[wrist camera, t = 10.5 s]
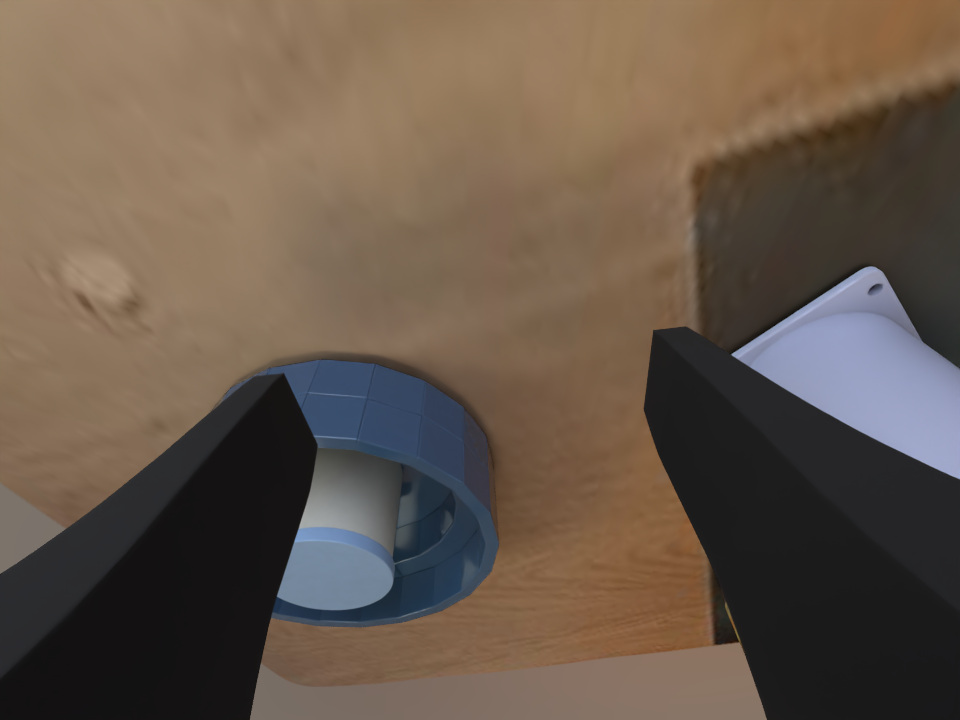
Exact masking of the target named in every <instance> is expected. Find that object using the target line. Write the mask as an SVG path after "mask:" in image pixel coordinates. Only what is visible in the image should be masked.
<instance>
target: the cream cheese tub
mask: <svg viewBox="0 0 960 720" xmlns="http://www.w3.org/2000/svg"><path fill="white" fill-rule="evenodd" d="M402 478H403V471H402V467H401V465H400V463H398V462H395V461H391V460H387V459H384V458H380V457H377V456H373V455H370V454H366V453H363V452H359V451H356V450H343V449H328V448H317V454H316V461H315V467H314V473H313V479H312V484H311V489H310V493H309V497H308V500H307V503H306V507H305V510H304V513H303V516H302V519H301V523H300V526H299V529H298V532H297V535H296V538H295V542H294V545H293V548H292V551H291V554H290V557H289V560H288V563H287V566H286V570H285V573H284V576H283V579H282V582H281V585H280V588H279V591H278V595H277V597H279V598H281V599H283V600H285V601H287V602H290V603H293V604H296V605H299V606H303V607H307V608H313V609H321V610H347V609H354V608H359V607H363V606H366V605H369V604H372V603H374V602H376V601H378V600H380V599H381V598H383V597H384V596H385V595H386V594H387V593H388V592H389V591H390V589H391V587H392V585H393V580H394V572H395V564H394V561H393V551H394V543H395V535H396V527H397V519H398V511H399V502H400V494H401V486H402Z"/></svg>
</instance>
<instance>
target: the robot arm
mask: <svg viewBox="0 0 960 720" xmlns="http://www.w3.org/2000/svg"><path fill="white" fill-rule="evenodd" d="M874 285H875V286H874ZM872 286H874V287H873V288H872V289H870V288H871V287H872ZM869 289H870V290H869ZM644 412H645V415H646V418H647V422H648V425H649V428H650V431H651V434H652V437H653V440H654V443H655V446H656V449H657V452H658V455H659V457H660V459H661V461H662V463H663V466H664V468H665V470H666V472H667V474H668V476H669V478H670V480H671V482H672V484H673V487H674V489H675V491H676V493H677V495H678V497H679V499H680V501H681V503H682V505H683V507H684V509H685V511H686V514H687V516H688V518H689V520H690V522H691V524H692V526H693V528H694V530H695V532H696V534H697V536H698V538H699V540H700V542H701V545H702V547H703V549H704V551H705V553H706V555H707V557H708V559H709V561H710V564H711V566H712V568H713V571H714V573H715V575H716V577H717V580H718V582H719V584H720V587H721V590H722V592H723V595H724V598H725V601H726V603H727V606H728V609H729V611H730V614H731V617H732V620H733V622H734V625H735V628H736V630H737V633H738V636H739V639H740V641H741V644H742V647H743V650H744V653H745V656H746V659H747V662H748V664H749V667H750V670H751V673H752V676H753V679H754V682H755V684H756V687H757V690H758V693H759V696H760V699H761V702H762V705H763V708H764V711H765V715H766V718H767V720H960V369H959V368H958V367H957V366H955V365H954V364H952V363H951V362H950V361H948V360H947V359H945V358H944V357H943V356H941V355H940V354H939V353H937V352H936V351H934V350H933V349H932V348H930V347H929V346H927V345H926V344H925V343H923V342H922V340H921V338H920V337H919V335H918V333H917V331H916V330H915V328H914V326H913V324H912V323H911V321H910V319H909V317H908V315H907V314H906V312H905V310H904V308H903V307H902V305H901V303H900V301H899V300H898V298H897V296H896V294H895V292H894V291H893V289H892V287H891V285H890V284H889V282H888V280H887V278H886V277H885V275H884V273H883V272H882V271H881V270H879V269H877V268H876V267H872V266H870V267H865V268H863V269H861V270H859V271H858V272H856V273H855V274H853V275H852V276H850V277H849V278H847V279H846V280H844V281H843V282H841V283H840V284H838V285H837V286H835V287H833V288H832V289H830V290H829V291H827V292H826V293H824V294H823V295H821V296H820V297H818V298H817V299H815V300H814V301H812V302H811V303H809V304H807V305H806V306H804V307H803V308H801V309H800V310H798V311H797V312H795V313H794V314H792V315H791V316H789V317H788V318H786V319H785V320H783V321H781V322H780V323H778V324H777V325H775V326H774V327H772V328H771V329H769V330H768V331H766V332H765V333H763V334H762V335H760V336H759V337H757V338H755V339H754V340H752V341H751V342H749V343H748V344H746V345H745V346H743V347H742V348H740V349H739V350H737V351H736V352H734V353H733V354H729V353H728V352H726V351H725V350H723V349H721V348H720V347H718V346H717V345H715V344H714V343H712V342H711V341H709V340H708V339H706V338H704V337H703V336H701V335H700V334H698V333H696V332H695V331H693V330H691V329H690V328H688V327H678V328H669V329H660V330H653V338H652V346H651V354H650V362H649V371H648V379H647V387H646V395H645V403H644ZM317 448H318V444H317V442H316V440H315V438H314V435H313V433H312V431H311V429H310V427H309V425H308V423H307V421H306V418H305V416H304V414H303V412H302V410H301V408H300V406H299V404H298V401H297V399H296V397H295V395H294V393H293V391H292V389H291V387H290V385H289V382H288V380H287V378H286V376H285V374H284V373H280V374H271V375H263V376H254V377H253V378H251V379H250V380H249V381H247V382H246V383H245V384H243V385H242V386H241V387H240V388H238V389H237V390H236V391H235V392H234V393H232V394H231V395H230V396H229V397H228V398H226V399H225V400H224V401H223V402H222V403H221V404H219V405H218V406H217V407H216V408H215V409H214V410H212V411H211V412H210V413H209V414H208V415H207V416H206V417H204V418H203V419H202V420H201V421H200V422H199V423H197V424H196V425H195V426H194V427H193V428H192V429H190V430H189V431H188V432H187V433H186V434H185V435H184V436H182V437H181V438H180V439H179V440H178V441H177V442H175V443H174V444H173V445H172V446H171V447H170V448H168V449H167V450H166V451H165V452H164V453H163V454H161V455H160V456H159V457H158V458H157V459H155V460H154V461H153V462H152V463H150V464H149V465H148V466H147V467H145V468H144V469H143V470H142V471H140V472H139V473H138V474H137V475H135V476H134V477H133V478H132V479H131V480H129V481H128V482H127V483H126V484H124V485H123V486H122V487H121V488H119V489H118V490H117V491H116V492H114V493H113V494H112V495H111V496H109V497H108V498H107V499H106V500H104V501H103V502H102V503H101V504H99V505H98V506H97V507H95V508H94V509H93V510H91V511H90V512H89V513H87V514H86V515H85V516H83V517H82V518H81V519H79V520H78V521H77V522H75V523H74V524H72V525H71V526H70V527H68V528H67V529H65V530H64V531H63V532H62V533H60V534H58V535H57V536H56V537H54V538H53V539H52V540H50V541H48V542H47V543H46V544H44V545H43V546H41V547H40V548H39V549H37V550H36V551H34V552H33V553H31V554H30V555H28V556H27V557H26V558H24V559H23V560H21V561H20V562H18V563H17V564H15V565H14V566H12V567H10V568H9V569H7V570H6V571H4V572H3V573H1V574H0V720H250V715H251V710H252V705H253V699H254V693H255V688H256V683H257V678H258V673H259V669H260V664H261V659H262V655H263V650H264V645H265V641H266V636H267V631H268V627H269V623H270V619H271V616H272V612H273V608H274V605H275V601H276V598H277V595H278V591H279V588H280V585H281V582H282V579H283V576H284V573H285V570H286V566H287V563H288V560H289V557H290V554H291V551H292V548H293V545H294V542H295V538H296V535H297V532H298V529H299V526H300V523H301V519H302V516H303V513H304V510H305V507H306V503H307V500H308V497H309V493H310V489H311V484H312V479H313V473H314V467H315V461H316V454H317Z"/></svg>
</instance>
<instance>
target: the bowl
mask: <svg viewBox="0 0 960 720" xmlns="http://www.w3.org/2000/svg"><path fill="white" fill-rule="evenodd" d="M280 373H284V374H285V376H286V378H287V380H288V382H289V385H290V387H291V389H292V391H293V393H294V395H295V397H296V399H297V401H298V404H299V406H300V408H301V410H302V412H303V414H304V416H305V418H306V421H307V423H308V425H309V427H310V429H311V431H312V433H313V435H314V438H315V440H316V442H317V444H318V448H328V449H343V450H356V451H359V452H363V453H366V454H370V455H373V456H377V457H380V458H384V459H387V460H391V461H395V462H398V463H400V465H401V467H402V471H403V478H402V486H401V494H400V502H399V511H398V519H397V527H396V535H395V543H394V551H393V561H394V564H395V572H394V580H393V585H392V587H391V589H390V591H389V592H388V593H387V594H386V595H385V596H384V597H383V598H381V599H380V600H378V601H376V602H374V603H372V604H369V605H366V606H363V607H359V608H354V609H347V610H321V609H313V608H307V607H303V606H299V605H296V604H293V603H290V602H287V601H285V600H283V599H281V598H279V597H277V598H276V601H275V605H274V608H273V612H272V616H271V618H275V619H279V620H285V621H291V622H296V623H302V624H308V625H314V626H331V627H369V626H378V625H386V624H394V623H403V622H407V621H410V620H413V619H417V618H420V617H423V616H427V615H430V614H433V613H437V612H440V611H442V610H444V609H446V608H448V607H450V606H451V605H453V604H455V603H457V602H458V601H460V600H462V599H464V598H465V597H467V596H469V595H470V594H472V592H473V591H474V590H475V589H476V588H477V587H478V586H479V585H480V584H481V582H482V581H483V580H484V579H485V578H486V577H487V576H488V575H489V574H490V573H491V571H492V568H493V565H494V561H495V558H496V554H497V550H498V547H499V534H498V520H497V506H496V491H495V477H494V466H493V461H492V457H491V453H490V449H489V445H488V441H487V437H486V436H485V434H484V433H483V432H482V431H481V429H480V428H479V427H478V425H477V424H476V423H475V421H474V420H473V419H472V417H471V416H470V415H469V414H468V412H467V411H466V410H465V408H464V407H463V406H462V405H460V404H459V403H457V402H456V401H454V400H453V399H451V398H450V397H448V396H447V395H445V394H444V393H442V392H441V391H439V390H438V389H437V388H435V387H434V386H432V385H431V384H429V383H428V382H426V381H424V380H422V379H419V378H416V377H413V376H410V375H407V374H404V373H401V372H398V371H395V370H392V369H390V368H387V367H384V366H381V365H378V364H376V365H375V364H371V363H360V362H348V361H337V360H325V359H322V360H314V361H308V362H302V363H296V364H290V365H285V366H279V367H273V368H268V369H267V370H265V371H263V372H261V373H259V374H257V375H255V376H263V375H271V374H280ZM253 377H254V376H253ZM253 377H251V378H253ZM251 378H249V379H247V380H245V381H243V382H241V383H239V384H237V385H235V386H233V387H231V388H230V390H228V391H227V393H226V394H225V395H224V396H223V397H222V399H221V400H220V401H219V402H218V403H217V405H216V406H215V407H214V408H213V409H212V410H214V409H215V408H216V407H217V406H218V405H219V404H221V403H222V402H223V401H224V400H225V399H226V398H228V397H229V396H230V395H231V394H232V393H234V392H235V391H236V390H237V389H238V388H240V387H241V386H242V385H243V384H245V383H246V382H247V381H249V380H250V379H251Z"/></svg>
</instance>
